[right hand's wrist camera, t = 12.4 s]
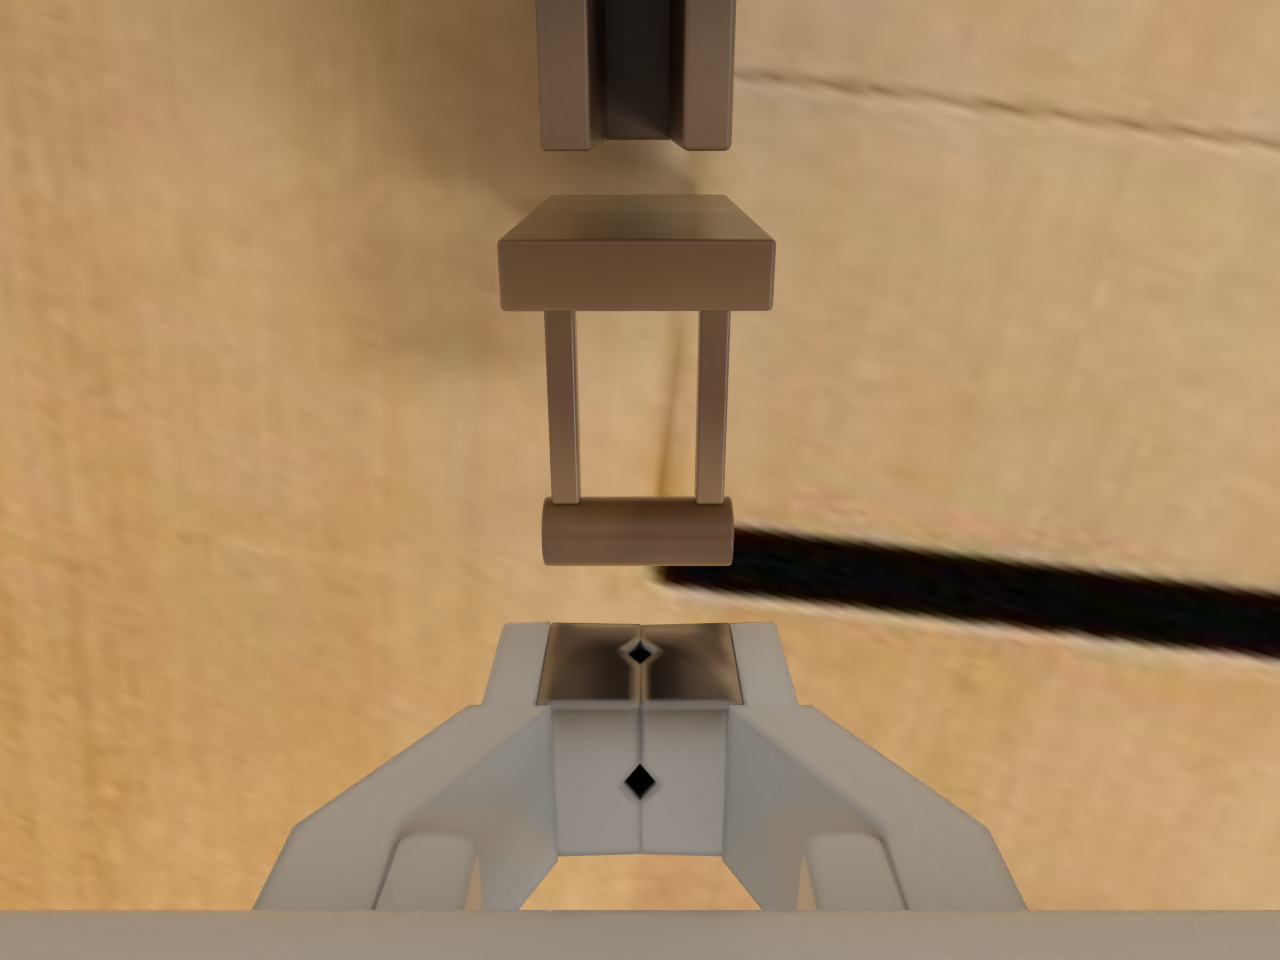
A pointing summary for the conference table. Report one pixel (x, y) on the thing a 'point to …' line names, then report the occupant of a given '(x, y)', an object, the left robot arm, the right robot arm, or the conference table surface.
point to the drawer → (636, 256)
